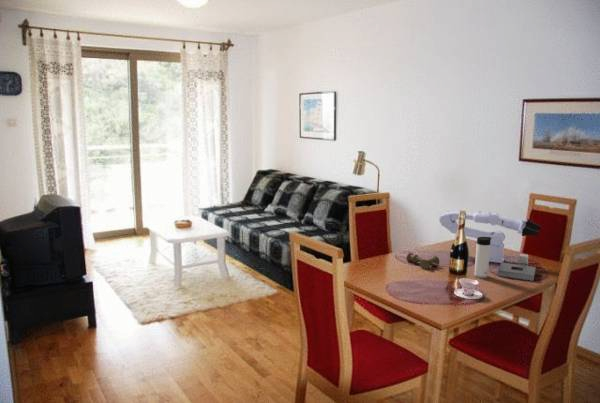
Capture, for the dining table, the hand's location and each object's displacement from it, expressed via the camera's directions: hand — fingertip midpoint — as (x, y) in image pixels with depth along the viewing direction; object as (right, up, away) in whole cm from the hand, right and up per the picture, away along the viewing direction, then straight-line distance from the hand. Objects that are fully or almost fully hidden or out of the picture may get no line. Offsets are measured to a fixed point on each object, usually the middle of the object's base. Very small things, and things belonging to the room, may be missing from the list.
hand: (539, 231), depth 252 cm
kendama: (-59, -19, +4) cm, 62 cm away
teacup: (-49, -26, -35) cm, 65 cm away
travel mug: (-34, -22, -12) cm, 42 cm away
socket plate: (-15, -21, -8) cm, 27 cm away
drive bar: (-8, -19, +1) cm, 21 cm away
